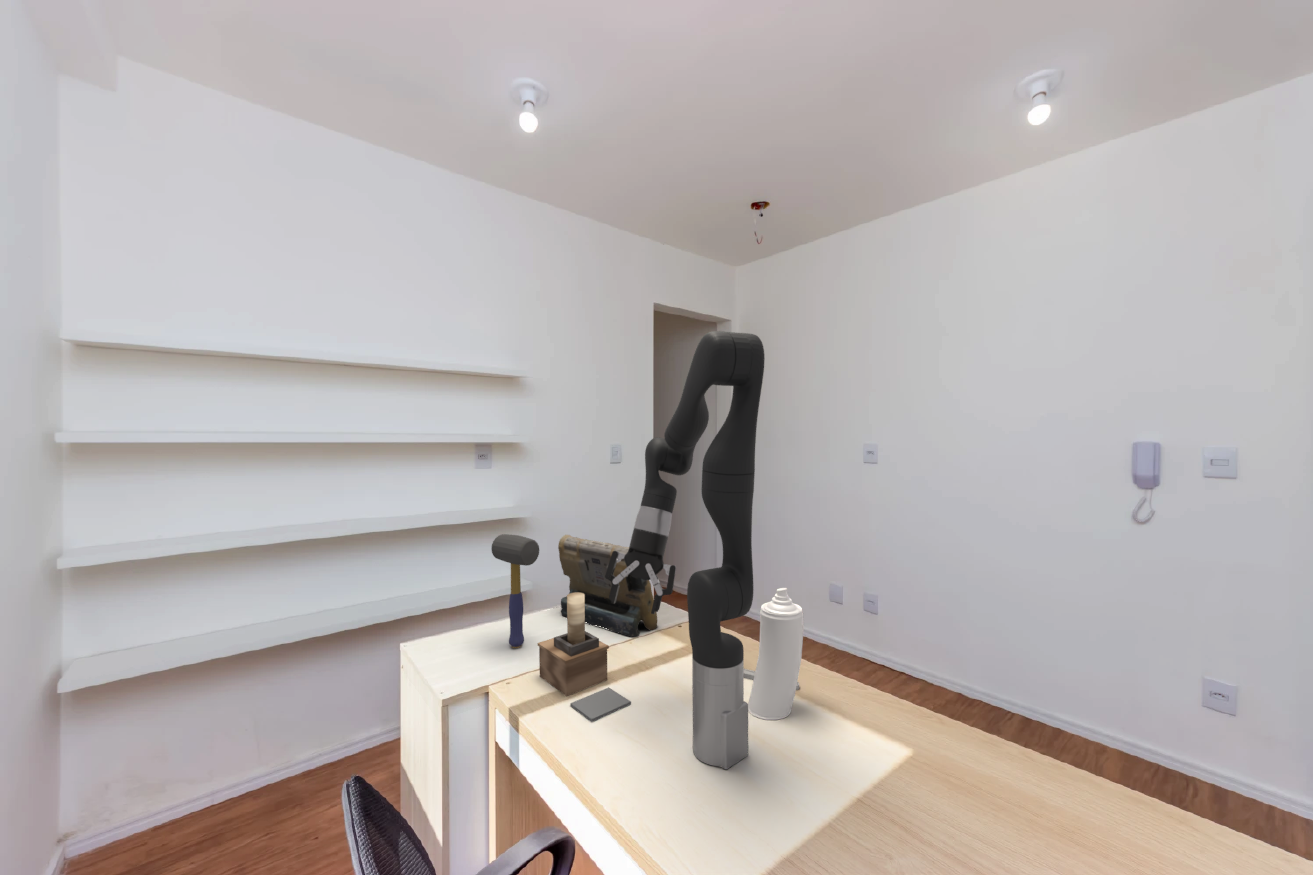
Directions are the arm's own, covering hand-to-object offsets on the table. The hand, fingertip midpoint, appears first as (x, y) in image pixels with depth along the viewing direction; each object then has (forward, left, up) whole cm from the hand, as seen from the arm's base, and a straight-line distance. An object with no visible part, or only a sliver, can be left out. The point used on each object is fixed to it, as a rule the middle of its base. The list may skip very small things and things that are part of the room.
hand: (632, 608), depth 108 cm
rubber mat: (+6, +4, -22) cm, 23 cm away
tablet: (+44, -25, -22) cm, 56 cm away
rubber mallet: (+45, +4, -22) cm, 51 cm away
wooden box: (+20, +2, -22) cm, 30 cm away
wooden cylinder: (+19, +2, -14) cm, 23 cm away
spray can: (-19, -23, -22) cm, 37 cm away
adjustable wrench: (-6, -28, -22) cm, 36 cm away
